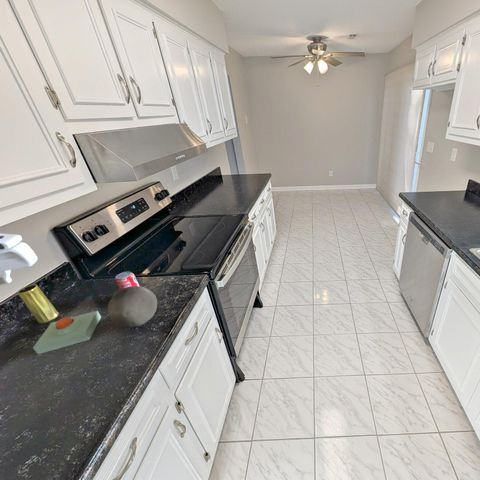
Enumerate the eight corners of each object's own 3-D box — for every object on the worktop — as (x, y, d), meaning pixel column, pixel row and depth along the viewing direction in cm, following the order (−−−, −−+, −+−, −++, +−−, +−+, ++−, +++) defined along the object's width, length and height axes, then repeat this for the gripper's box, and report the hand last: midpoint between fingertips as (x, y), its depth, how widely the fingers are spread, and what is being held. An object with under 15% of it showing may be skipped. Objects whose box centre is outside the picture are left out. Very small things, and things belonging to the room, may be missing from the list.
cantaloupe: (114, 325, 93) (95, 293, 86) (156, 304, 102) (142, 273, 95) (125, 345, 84) (105, 311, 77) (169, 320, 93) (155, 288, 87)
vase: (40, 325, 95) (17, 296, 89) (35, 320, 98) (13, 291, 92) (61, 315, 100) (40, 286, 93) (56, 310, 103) (35, 281, 96)
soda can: (125, 305, 103) (112, 281, 97) (127, 297, 107) (114, 273, 102) (143, 299, 105) (131, 275, 100) (144, 291, 110) (132, 268, 105)
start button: (55, 330, 86) (52, 327, 85) (61, 322, 89) (58, 319, 88) (69, 326, 87) (67, 323, 86) (74, 319, 91) (72, 315, 90)
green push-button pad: (38, 354, 83) (29, 343, 81) (56, 328, 93) (48, 318, 91) (89, 339, 88) (82, 329, 85) (101, 316, 98) (95, 307, 95)
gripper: (-85, 257, 69) (-49, 297, 75) (14, 242, 75) (39, 280, 81) (-64, 247, 74) (-32, 286, 80) (26, 234, 80) (49, 270, 86)
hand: (4, 283), depth 81 cm, fingers closed
